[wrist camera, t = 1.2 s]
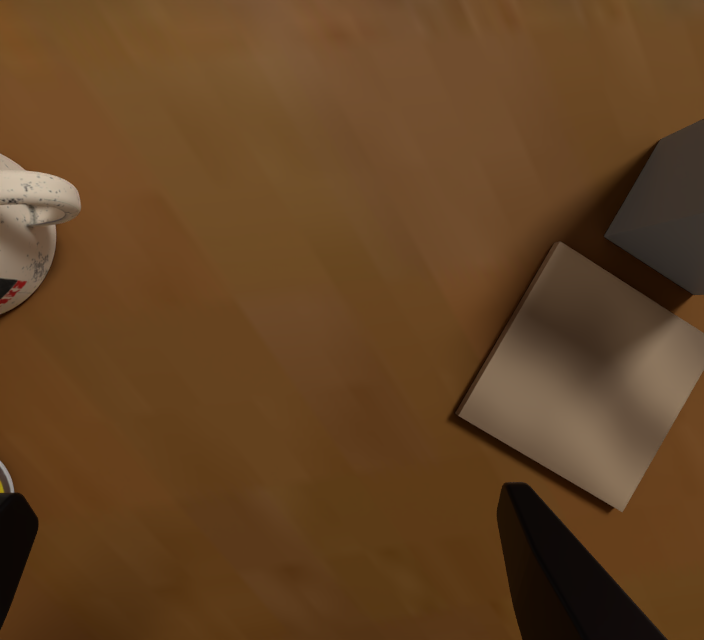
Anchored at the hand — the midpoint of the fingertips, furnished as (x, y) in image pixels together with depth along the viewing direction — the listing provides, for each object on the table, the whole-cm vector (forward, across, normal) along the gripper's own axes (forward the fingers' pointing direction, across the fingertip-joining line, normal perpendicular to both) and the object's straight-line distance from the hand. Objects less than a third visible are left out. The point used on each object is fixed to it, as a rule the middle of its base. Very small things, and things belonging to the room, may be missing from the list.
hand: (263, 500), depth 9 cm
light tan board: (+15, -14, +10) cm, 23 cm away
